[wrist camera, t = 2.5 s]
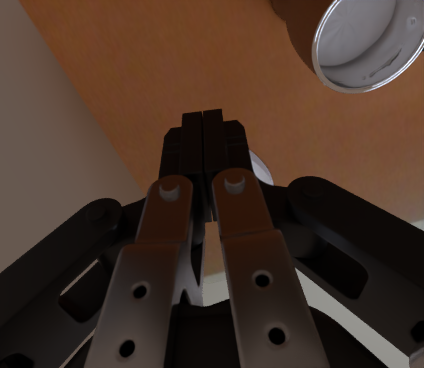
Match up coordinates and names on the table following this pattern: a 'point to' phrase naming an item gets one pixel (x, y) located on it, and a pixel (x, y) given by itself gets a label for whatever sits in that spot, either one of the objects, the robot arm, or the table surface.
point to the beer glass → (354, 39)
